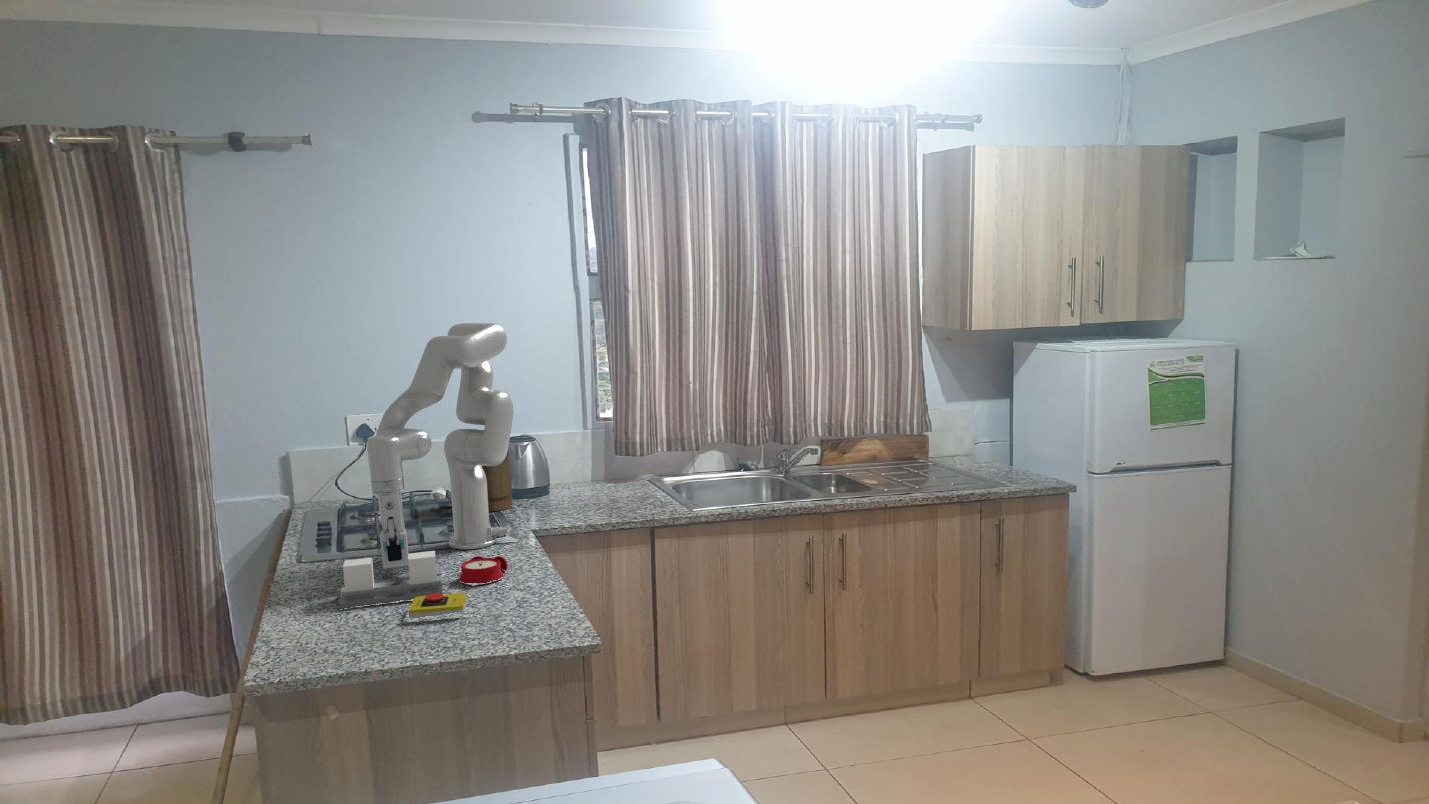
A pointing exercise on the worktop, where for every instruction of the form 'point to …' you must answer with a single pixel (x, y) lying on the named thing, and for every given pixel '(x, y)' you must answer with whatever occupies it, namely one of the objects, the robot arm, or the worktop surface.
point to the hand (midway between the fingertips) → (395, 556)
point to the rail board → (389, 592)
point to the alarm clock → (482, 569)
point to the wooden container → (499, 485)
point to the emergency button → (437, 604)
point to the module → (403, 550)
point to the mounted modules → (362, 576)
